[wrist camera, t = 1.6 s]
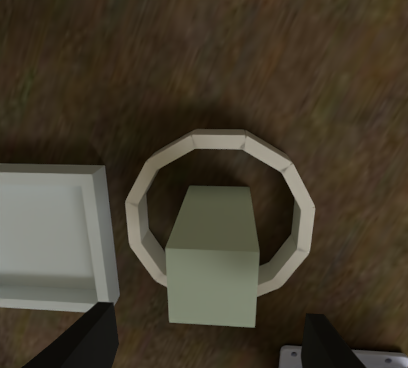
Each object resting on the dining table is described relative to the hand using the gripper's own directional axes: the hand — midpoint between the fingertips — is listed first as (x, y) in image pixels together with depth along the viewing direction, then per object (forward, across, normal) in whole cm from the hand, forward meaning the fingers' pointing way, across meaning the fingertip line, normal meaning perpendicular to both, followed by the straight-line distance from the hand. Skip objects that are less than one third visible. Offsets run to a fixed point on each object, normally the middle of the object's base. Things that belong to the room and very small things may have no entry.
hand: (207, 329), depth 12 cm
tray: (+10, +13, +2) cm, 17 cm away
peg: (+10, 0, 0) cm, 10 cm away
